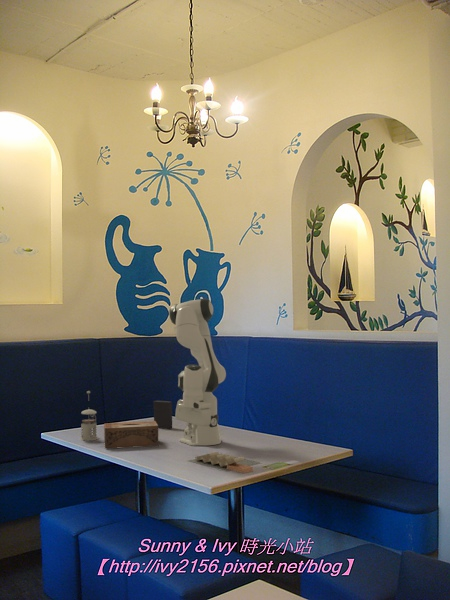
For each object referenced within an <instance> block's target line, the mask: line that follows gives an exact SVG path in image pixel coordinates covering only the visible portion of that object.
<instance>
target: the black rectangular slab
mask: <svg viewBox="0 0 450 600" xmlns="http://www.w3.org/2000/svg"><path fill="white" fill-rule="evenodd" d="M152 408H153V421H156V423H157V424H158V429H165V428H167V429H166V430H168V429H170V430H171V429H173V402H172V401H166V400H153V402H152Z"/></svg>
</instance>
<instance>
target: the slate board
mask: <svg viewBox="0 0 450 600" xmlns="http://www.w3.org/2000/svg"><path fill="white" fill-rule="evenodd" d="M220 454H221V453H219V455H220ZM227 456H231V455H229V454H227ZM235 458H239V456H238V457H237V456H235ZM188 462H190V463H194V464H196V465H197V464H198V465H201V466H205V467H208V468H213V469H217V470H220V471H225V472H230V471H232V470H229V469H227V465H226V466H222V467H220V465H219V464H214V465H212V464H211V462H206V463H203V460H199V461H196V459H195V458H194V459H190V460H188ZM237 463H238V464H243V465H247V466H251V467H253V466H256V465H262V462H259V461H257V460H256V461H255V460H251V459H246V458H244V461H241V462H237Z"/></svg>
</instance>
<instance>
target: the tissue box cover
mask: <svg viewBox="0 0 450 600" xmlns="http://www.w3.org/2000/svg"><path fill="white" fill-rule="evenodd" d="M103 426H104V427H103V431H104V433H103V434H104V435H103V436H104V439H103V440H104V443H105V444H104V449H105V448H107V449H118V448H117V447H125V448H134V447H133V446H143V447H151V446H150V445H158V446H159V428H158V424H157V423H156V421H154V420H149V421H148V420H147V421H127V422H109V423H108V422H107V423H105V422H104V424H103Z"/></svg>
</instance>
